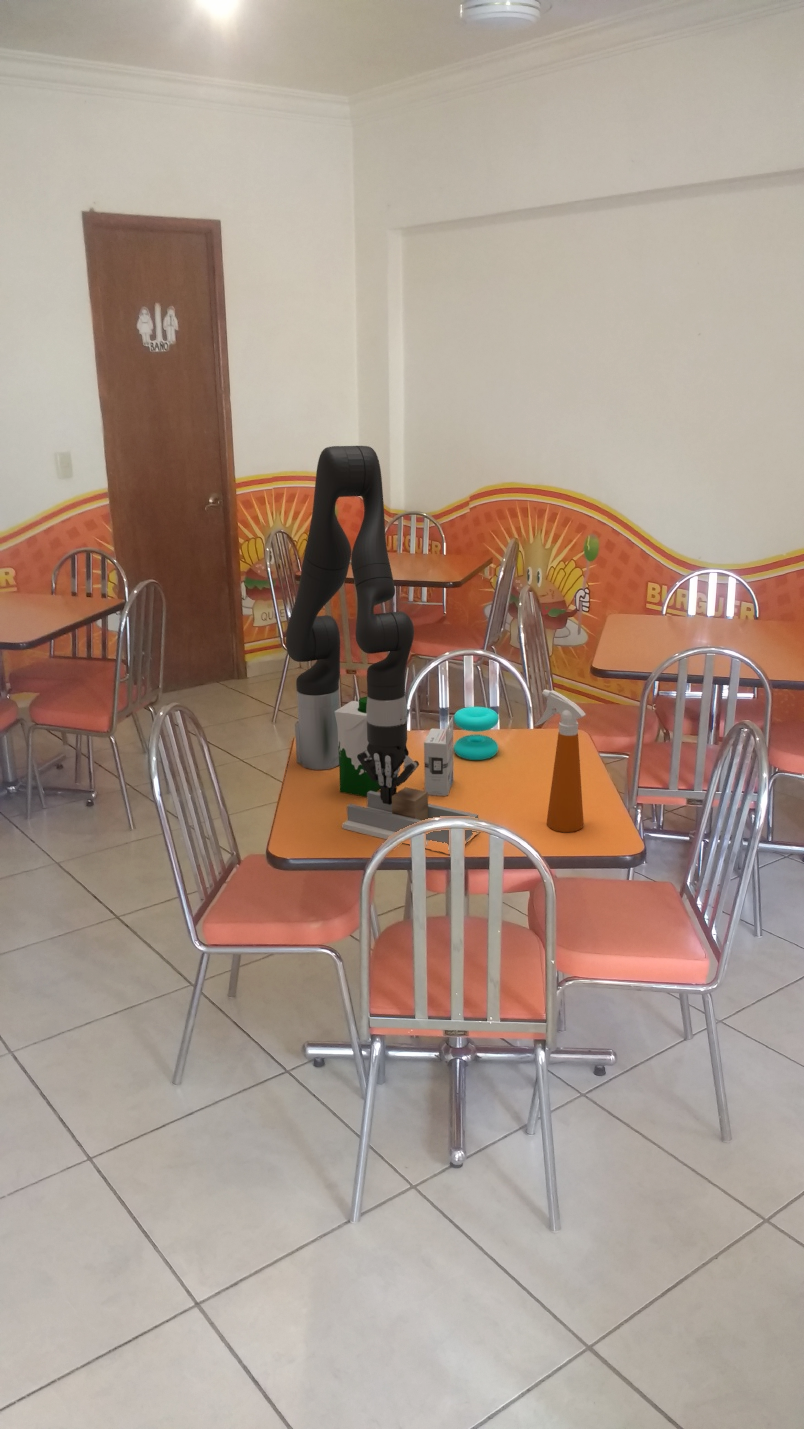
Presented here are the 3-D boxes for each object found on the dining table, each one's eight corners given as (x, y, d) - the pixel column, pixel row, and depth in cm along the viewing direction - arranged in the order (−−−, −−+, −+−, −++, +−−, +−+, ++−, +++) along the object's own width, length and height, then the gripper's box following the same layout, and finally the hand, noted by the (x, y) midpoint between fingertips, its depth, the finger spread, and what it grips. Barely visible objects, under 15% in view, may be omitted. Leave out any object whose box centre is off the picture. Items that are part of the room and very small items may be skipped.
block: (392, 825, 197) (391, 796, 195) (405, 815, 201) (405, 786, 199) (415, 830, 195) (414, 801, 193) (428, 820, 199) (427, 791, 197)
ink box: (431, 779, 221) (430, 714, 217) (454, 780, 221) (453, 715, 216) (424, 795, 214) (423, 728, 209) (447, 796, 213) (447, 729, 208)
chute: (342, 828, 199) (341, 809, 198) (375, 805, 209) (375, 787, 208) (452, 855, 188) (452, 835, 186) (482, 830, 197) (482, 811, 196)
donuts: (444, 713, 231) (471, 702, 238) (445, 755, 235) (471, 742, 242) (480, 722, 225) (507, 710, 232) (480, 765, 228) (506, 752, 235)
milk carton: (371, 800, 212) (368, 707, 205) (333, 793, 216) (329, 701, 209) (391, 784, 219) (388, 694, 213) (353, 777, 223) (350, 689, 216)
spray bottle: (542, 809, 206) (546, 682, 197) (590, 823, 200) (596, 693, 191) (523, 821, 201) (525, 692, 192) (571, 836, 194) (576, 703, 186)
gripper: (346, 718, 194) (349, 803, 199) (407, 729, 187) (408, 817, 193) (367, 706, 200) (370, 789, 206) (427, 717, 193) (428, 802, 199)
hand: (388, 802), depth 199 cm, fingers closed
